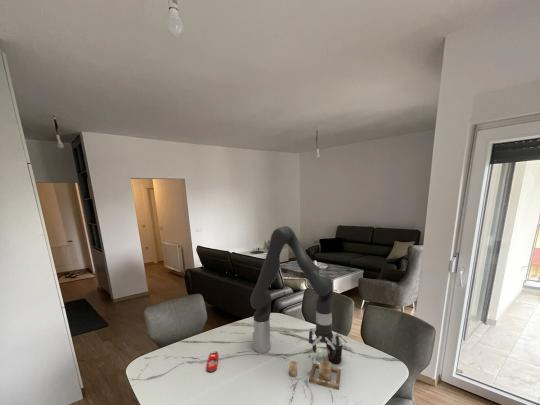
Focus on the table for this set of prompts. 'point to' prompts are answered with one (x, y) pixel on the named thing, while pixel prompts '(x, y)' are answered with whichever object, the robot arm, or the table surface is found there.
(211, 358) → the race car
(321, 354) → the pale green rounded cylinder
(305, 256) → the robot arm
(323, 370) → the oak block
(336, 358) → the coffee mug
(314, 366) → the walnut tray
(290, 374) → the cork cylinder
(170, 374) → the table surface
